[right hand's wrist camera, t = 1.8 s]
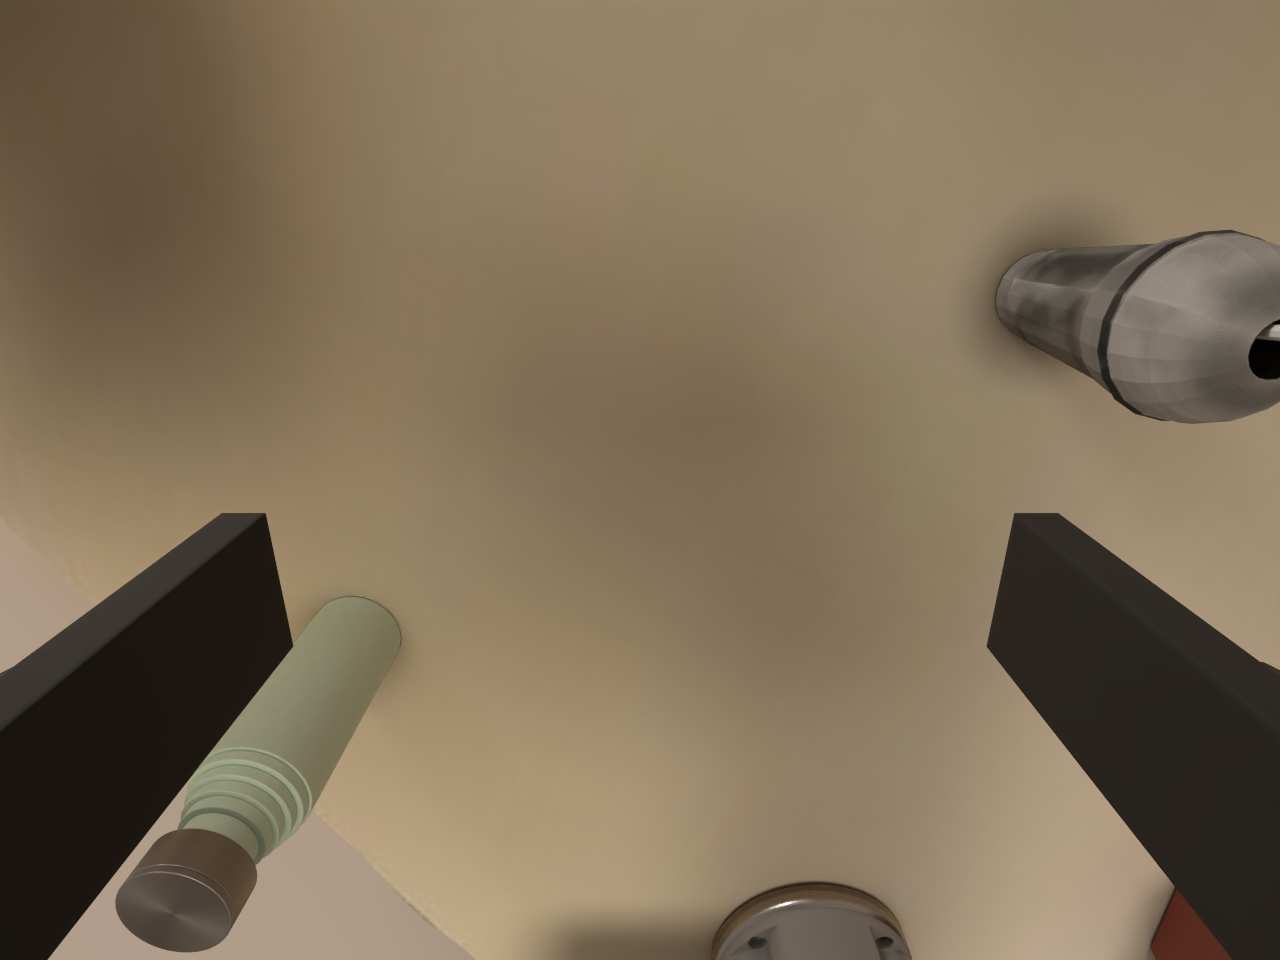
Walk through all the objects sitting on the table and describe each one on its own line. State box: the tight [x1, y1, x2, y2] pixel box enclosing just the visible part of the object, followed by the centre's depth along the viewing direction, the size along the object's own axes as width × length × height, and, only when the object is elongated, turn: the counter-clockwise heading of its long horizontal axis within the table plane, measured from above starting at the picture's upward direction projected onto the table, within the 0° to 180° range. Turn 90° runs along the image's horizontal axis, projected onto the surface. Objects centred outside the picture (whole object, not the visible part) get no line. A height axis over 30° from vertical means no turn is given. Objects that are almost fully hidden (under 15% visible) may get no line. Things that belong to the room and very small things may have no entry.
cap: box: [115, 828, 257, 952], centre depth 29 cm, size 4×4×2 cm
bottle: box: [178, 597, 401, 865], centre depth 37 cm, size 6×6×19 cm
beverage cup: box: [996, 230, 1280, 424], centre depth 29 cm, size 7×7×20 cm
